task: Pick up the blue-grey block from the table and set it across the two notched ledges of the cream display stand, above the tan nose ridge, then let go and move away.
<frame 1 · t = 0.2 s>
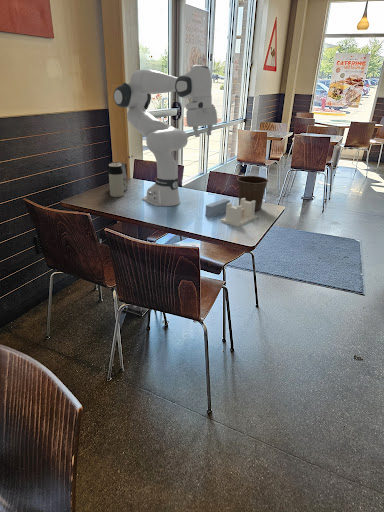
hand: (203, 136, 165), 38 cm above the table, tool pointing down, fingers open, 8 cm apart
display stand: (239, 219, 173), on the table
travel mug: (117, 195, 205), on the table
coffee box: (120, 189, 217), on the table
blue-grey block: (217, 213, 182), on the table
plant pot: (249, 208, 191), on the table
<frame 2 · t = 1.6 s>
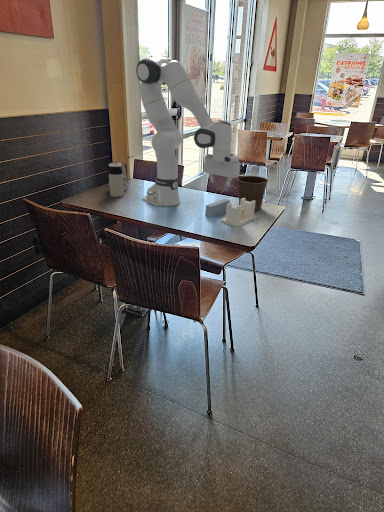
hand: (220, 184, 175), 16 cm above the table, tool pointing down, fingers open, 8 cm apart
nothing on the table moved.
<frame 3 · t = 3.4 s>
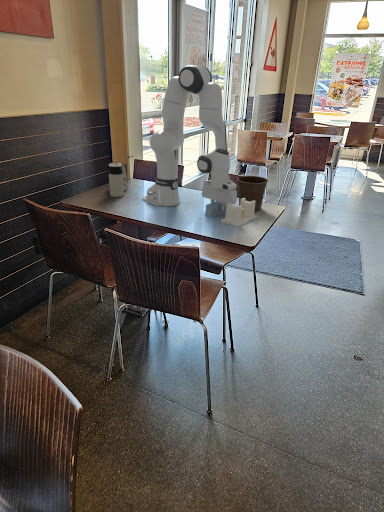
hand: (217, 209, 180), 2 cm above the table, tool pointing down, fingers closed on blue-grey block, 4 cm apart
blue-grey block: (217, 213, 182), on the table, touching gripper
everything else where it was.
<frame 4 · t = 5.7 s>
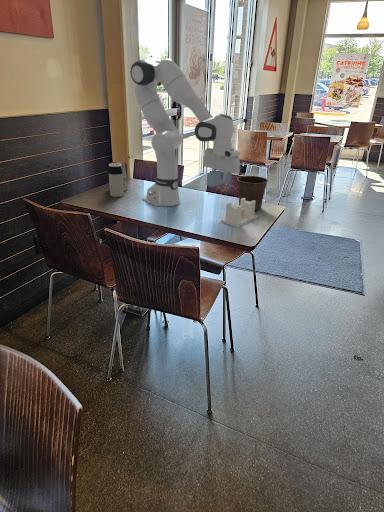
hand: (219, 178, 174), 18 cm above the table, tool pointing down, fingers closed on blue-grey block, 3 cm apart
blue-grey block: (218, 183, 175), point 16 cm above the table, touching gripper
everything else where it was.
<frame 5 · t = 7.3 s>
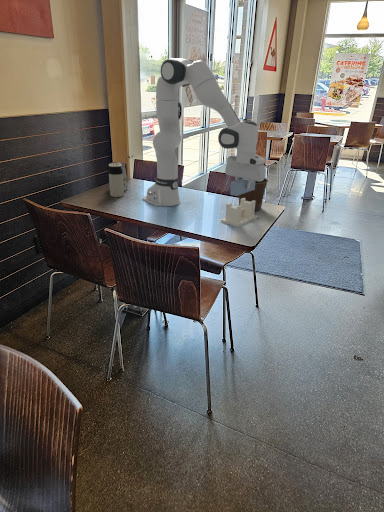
hand: (243, 187, 166), 17 cm above the table, tool pointing down, fingers closed on blue-grey block, 3 cm apart
blue-grey block: (242, 192, 167), point 14 cm above the table, touching gripper
everything else where it was.
when the fingers open (11 cm above the table, at t = 8.4 s): blue-grey block stays where it is, resting on display stand.
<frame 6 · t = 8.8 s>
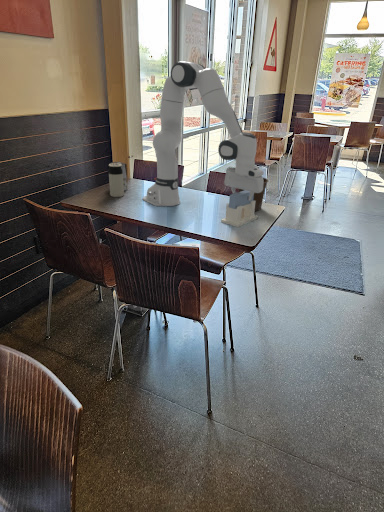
hand: (241, 198, 168), 11 cm above the table, tool pointing down, fingers open, 7 cm apart
blue-grey block: (241, 204, 170), point 8 cm above the table, touching display stand
everything else where it was.
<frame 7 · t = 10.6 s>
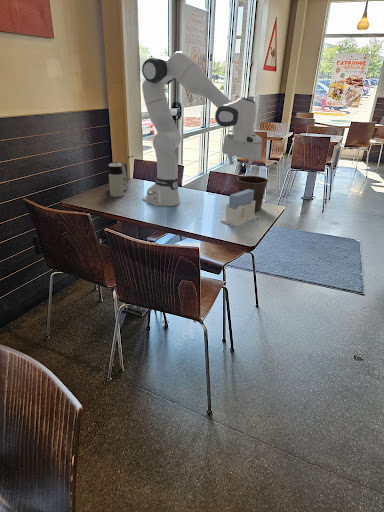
hand: (239, 166, 166), 26 cm above the table, tool pointing down, fingers open, 8 cm apart
nothing on the table moved.
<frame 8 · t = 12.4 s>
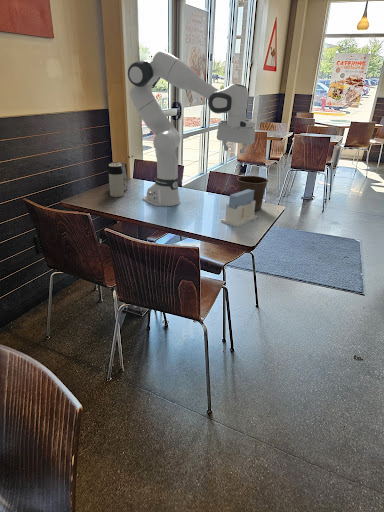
hand: (233, 151, 170), 31 cm above the table, tool pointing down, fingers open, 8 cm apart
nothing on the table moved.
at the end: blue-grey block 0.0 cm off-centre on the display stand, point 8.0 cm above the display stand's base; the gripper is holding nothing; blue-grey block tilted 0° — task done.
